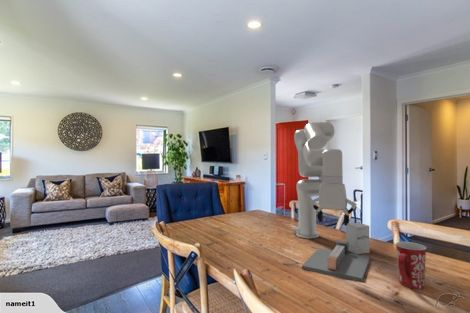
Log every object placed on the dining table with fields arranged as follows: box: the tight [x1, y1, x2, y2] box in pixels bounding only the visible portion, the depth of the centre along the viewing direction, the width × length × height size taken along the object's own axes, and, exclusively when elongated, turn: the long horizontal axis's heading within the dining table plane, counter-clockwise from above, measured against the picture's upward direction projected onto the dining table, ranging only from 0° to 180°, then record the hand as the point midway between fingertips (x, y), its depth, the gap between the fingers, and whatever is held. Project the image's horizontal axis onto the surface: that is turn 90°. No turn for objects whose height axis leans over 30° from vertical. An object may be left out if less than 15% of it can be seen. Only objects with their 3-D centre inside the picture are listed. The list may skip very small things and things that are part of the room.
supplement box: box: [345, 222, 370, 255], centre depth 126 cm, size 7×7×13 cm
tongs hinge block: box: [335, 239, 350, 255], centre depth 121 cm, size 5×3×5 cm, turn 57°
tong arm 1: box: [327, 244, 341, 269], centre depth 111 cm, size 2×18×4 cm, turn 148°
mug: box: [395, 241, 427, 290], centre depth 93 cm, size 13×9×14 cm
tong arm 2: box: [332, 246, 345, 270], centre depth 110 cm, size 2×18×4 cm, turn 147°
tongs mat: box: [301, 247, 371, 282], centre depth 112 cm, size 22×24×1 cm
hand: (333, 223), depth 107 cm, fingers open, 9 cm apart
